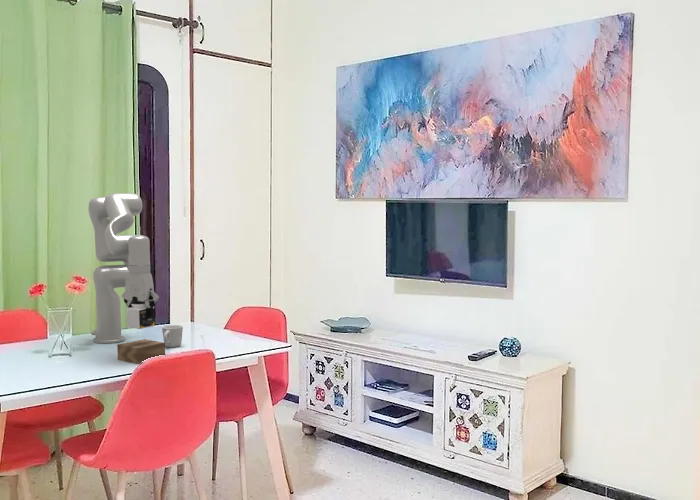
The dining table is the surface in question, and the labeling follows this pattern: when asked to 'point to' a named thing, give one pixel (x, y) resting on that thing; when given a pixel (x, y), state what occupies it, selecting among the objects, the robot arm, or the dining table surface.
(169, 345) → the cup
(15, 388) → the dining table surface
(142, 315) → the medicine bottle
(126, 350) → the walnut block
